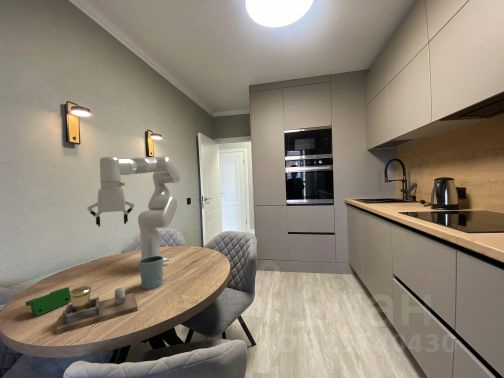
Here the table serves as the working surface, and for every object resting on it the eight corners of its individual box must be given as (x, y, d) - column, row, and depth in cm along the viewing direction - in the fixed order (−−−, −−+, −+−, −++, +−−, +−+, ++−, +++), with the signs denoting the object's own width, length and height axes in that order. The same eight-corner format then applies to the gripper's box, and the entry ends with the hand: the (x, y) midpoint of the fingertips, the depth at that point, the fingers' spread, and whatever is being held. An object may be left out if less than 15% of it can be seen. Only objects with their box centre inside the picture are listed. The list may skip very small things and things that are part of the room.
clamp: (58, 314, 88) (64, 289, 92) (67, 312, 86) (73, 287, 90) (18, 317, 78) (27, 289, 82) (28, 316, 76) (37, 287, 80)
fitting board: (133, 296, 91) (133, 280, 91) (137, 310, 80) (136, 292, 80) (63, 314, 79) (62, 296, 79) (56, 334, 68) (56, 313, 68)
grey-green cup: (168, 282, 104) (168, 256, 104) (152, 292, 95) (151, 263, 95) (151, 280, 108) (150, 255, 107) (134, 289, 98) (133, 261, 98)
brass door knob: (92, 306, 81) (91, 284, 81) (91, 314, 76) (91, 290, 76) (71, 312, 78) (70, 289, 77) (69, 320, 73) (68, 296, 73)
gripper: (132, 185, 106) (133, 221, 106) (86, 186, 97) (88, 226, 97) (134, 185, 100) (135, 223, 100) (85, 186, 90) (87, 228, 90)
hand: (112, 224), depth 98 cm, fingers open, 9 cm apart
